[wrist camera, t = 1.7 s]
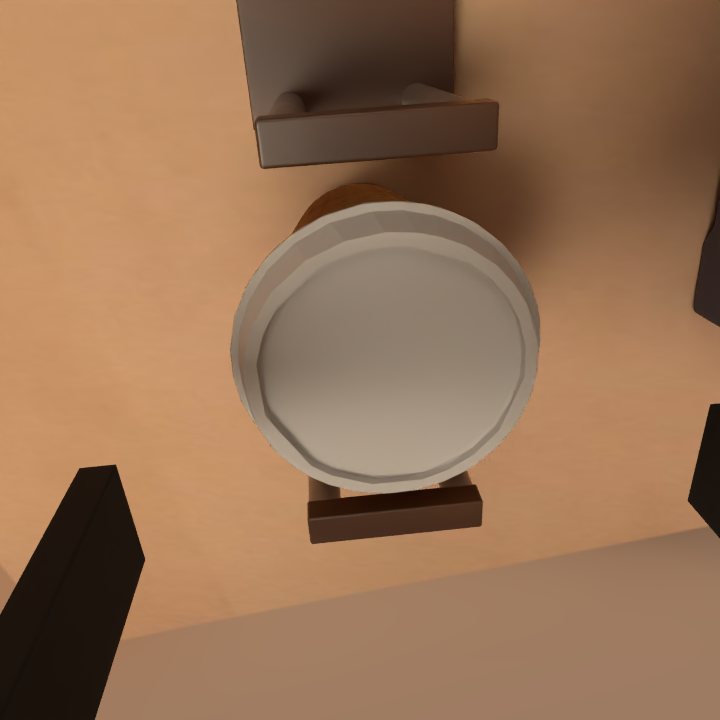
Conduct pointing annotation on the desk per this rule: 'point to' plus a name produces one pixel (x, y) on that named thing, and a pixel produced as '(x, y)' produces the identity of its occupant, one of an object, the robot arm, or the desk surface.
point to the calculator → (710, 276)
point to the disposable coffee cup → (385, 342)
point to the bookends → (364, 143)
